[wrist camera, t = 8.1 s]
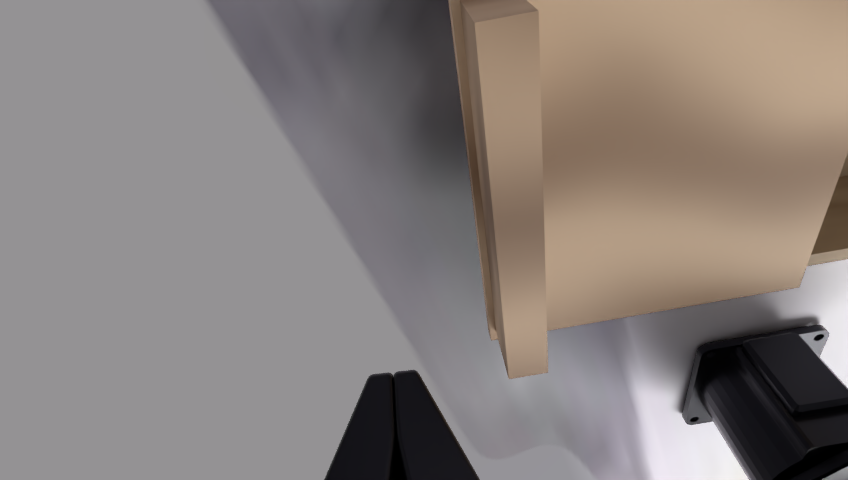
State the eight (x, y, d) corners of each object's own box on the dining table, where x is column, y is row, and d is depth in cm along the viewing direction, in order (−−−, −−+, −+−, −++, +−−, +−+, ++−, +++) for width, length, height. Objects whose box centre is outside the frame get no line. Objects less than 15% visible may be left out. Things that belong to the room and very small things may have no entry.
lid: (789, 277, 18) (842, 330, 16) (488, 329, 18) (503, 388, 16) (923, -114, 11) (1046, -110, 9) (445, -23, 11) (461, 1, 9)
